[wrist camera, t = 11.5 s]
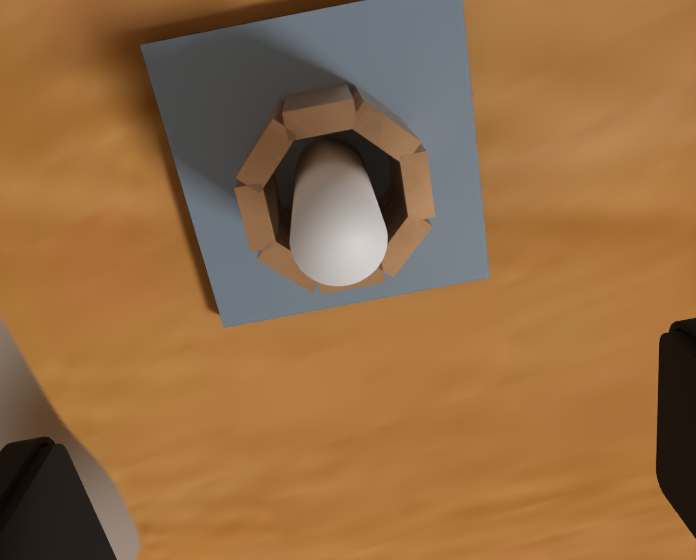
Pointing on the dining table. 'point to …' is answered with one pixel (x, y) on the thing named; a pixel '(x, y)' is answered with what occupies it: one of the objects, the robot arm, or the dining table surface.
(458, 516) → the dining table surface
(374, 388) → the dining table surface
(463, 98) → the piston stand
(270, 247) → the ring
